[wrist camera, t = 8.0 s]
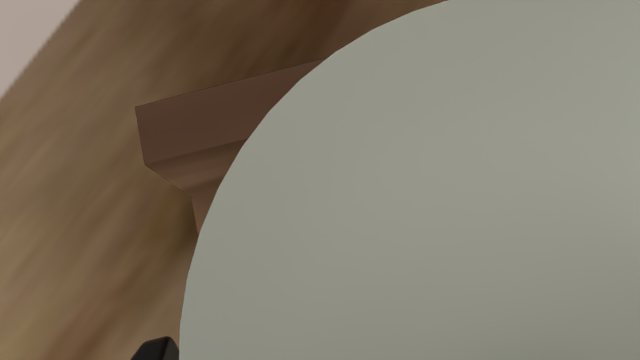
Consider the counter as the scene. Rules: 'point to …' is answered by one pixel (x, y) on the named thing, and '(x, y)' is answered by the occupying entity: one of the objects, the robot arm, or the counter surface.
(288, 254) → the pale upright pillar block
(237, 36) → the counter surface
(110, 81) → the counter surface
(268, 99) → the walnut shelf board
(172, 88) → the counter surface
